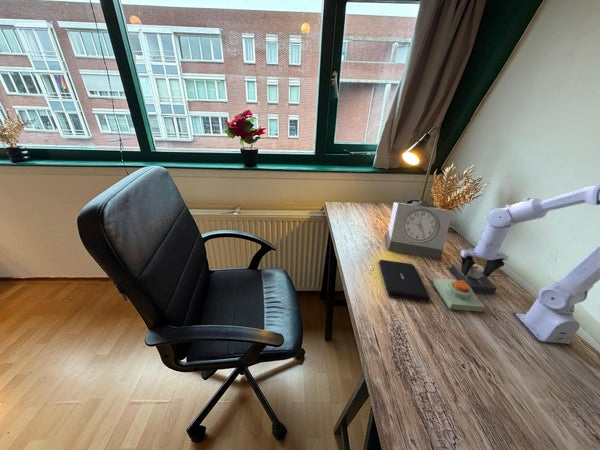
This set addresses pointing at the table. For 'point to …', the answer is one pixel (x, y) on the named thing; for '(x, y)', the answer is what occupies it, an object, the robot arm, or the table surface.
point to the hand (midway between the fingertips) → (474, 274)
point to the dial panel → (474, 281)
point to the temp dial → (476, 271)
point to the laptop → (403, 280)
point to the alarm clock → (418, 229)
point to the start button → (461, 286)
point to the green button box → (457, 296)
